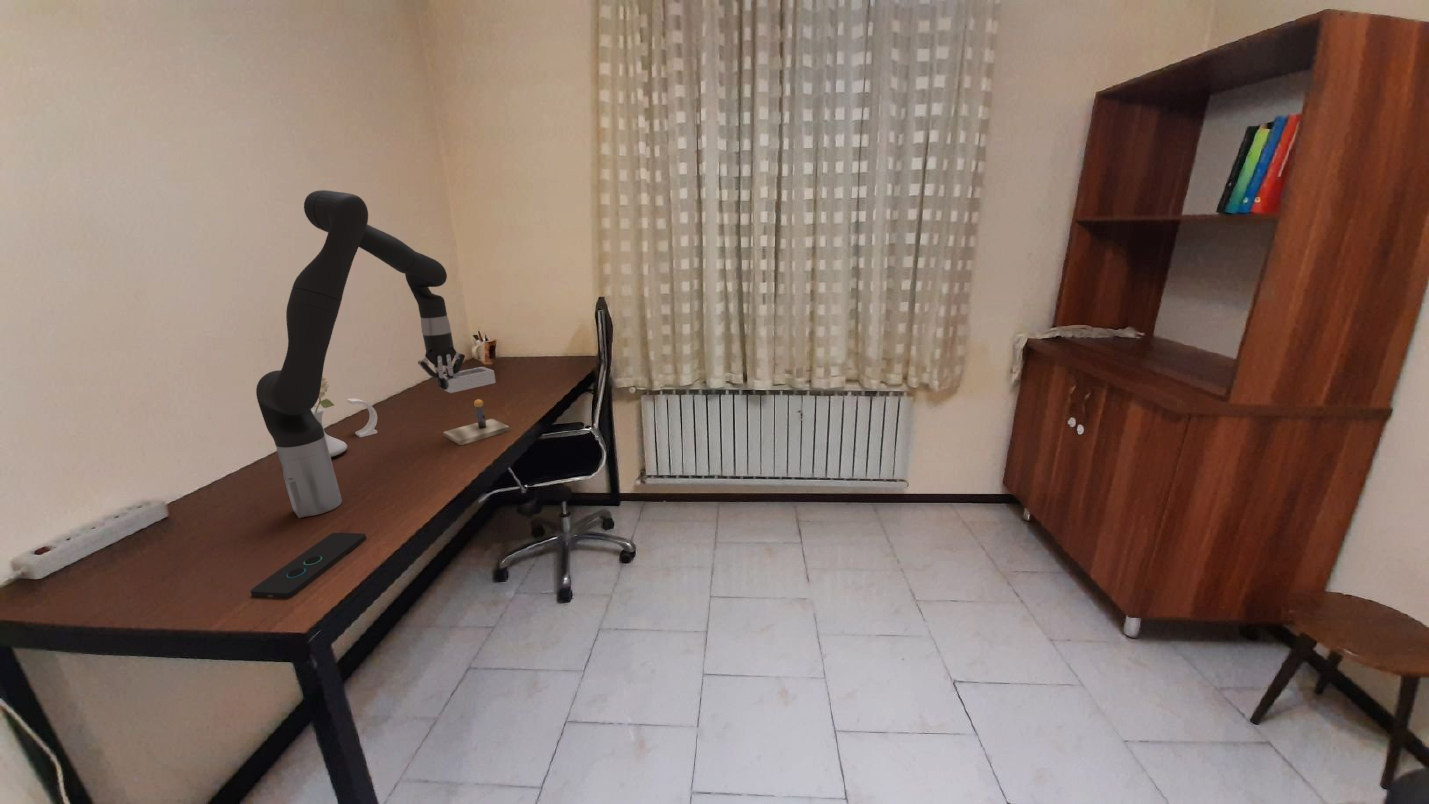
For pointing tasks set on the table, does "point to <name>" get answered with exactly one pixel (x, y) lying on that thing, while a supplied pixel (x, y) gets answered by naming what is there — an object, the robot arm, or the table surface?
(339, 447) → the flower in vase
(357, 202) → the robot arm
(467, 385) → the steel link
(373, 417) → the headphone stand
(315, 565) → the smart home device
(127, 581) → the table surface
